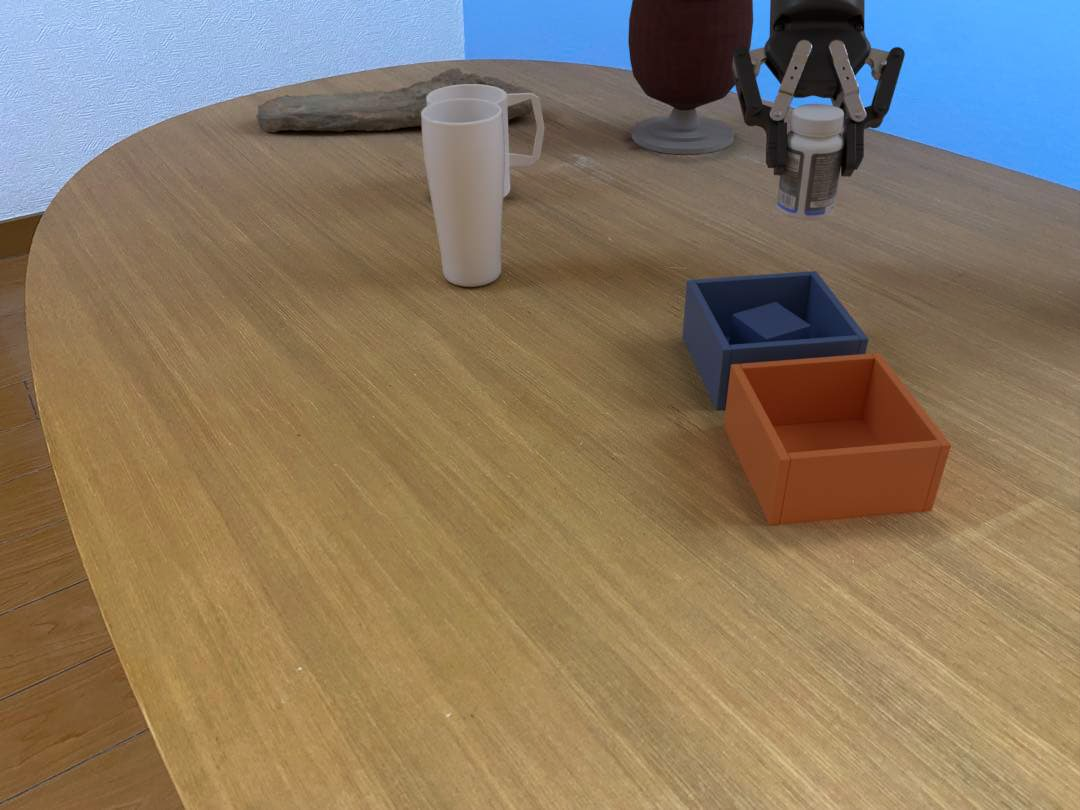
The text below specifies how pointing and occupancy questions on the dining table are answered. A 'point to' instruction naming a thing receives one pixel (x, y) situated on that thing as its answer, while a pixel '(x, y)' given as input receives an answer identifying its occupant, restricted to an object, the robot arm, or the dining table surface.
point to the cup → (503, 101)
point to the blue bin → (729, 295)
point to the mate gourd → (686, 68)
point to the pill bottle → (812, 162)
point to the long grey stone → (371, 106)
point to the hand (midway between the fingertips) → (814, 171)
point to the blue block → (767, 325)
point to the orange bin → (833, 439)
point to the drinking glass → (466, 186)
